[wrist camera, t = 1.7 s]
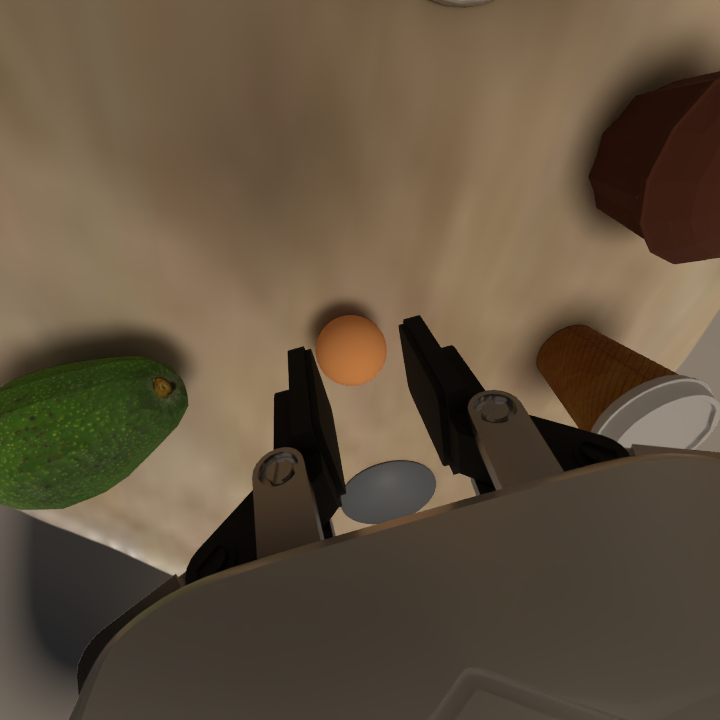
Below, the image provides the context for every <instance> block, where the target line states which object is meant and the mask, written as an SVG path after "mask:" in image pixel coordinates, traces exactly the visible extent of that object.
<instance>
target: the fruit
mask: <svg viewBox="0 0 720 720" xmlns="http://www.w3.org/2000/svg"><path fill="white" fill-rule="evenodd" d="M187 407H188V397H187V392H186V388H185V385H184V383H183V381H182V379H181V378H180V376H178V375H177V374H176V373H175V371H174V370H173V369H172V368H171V367H170V366H167V365H164V364H162V363H159V362H156V361H154V360H151V359H149V358H146V357H142V356H122V357H112V358H102V359H95V360H89V361H82V362H76V363H70V364H65V365H60V366H55V367H50V368H46V369H41V370H37V371H35V372H32V373H29V374H27V375H24V376H21V377H18V378H16V379H13V380H12V381H10V382H9V383H7V384H6V385H4V386H3V387H1V388H0V504H2V505H5V506H9V507H13V508H16V509H20V510H36V509H64V508H66V507H69V506H72V505H74V504H77V503H79V502H82V501H85V500H87V499H90V498H92V497H95V496H97V495H99V494H102V493H104V492H106V491H108V490H109V489H111V488H112V487H113V486H115V485H116V484H118V483H119V482H121V481H122V480H123V479H125V478H126V477H128V476H129V475H130V474H131V473H132V472H133V471H134V470H135V469H136V468H137V467H138V466H139V465H140V464H141V463H142V462H143V461H144V460H145V459H146V458H147V457H148V456H149V455H150V454H151V453H152V452H153V451H154V450H155V449H156V448H157V447H158V446H159V445H160V444H161V443H162V442H163V441H164V440H165V439H166V437H167V436H168V435H169V434H170V433H171V432H172V431H173V430H174V429H175V428H176V427H177V426H178V424H179V422H180V421H181V419H182V417H183V415H184V413H185V411H186V409H187Z"/></svg>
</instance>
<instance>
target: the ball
mask: <svg viewBox="0 0 720 720" xmlns="http://www.w3.org/2000/svg"><path fill="white" fill-rule="evenodd" d="M386 353H387V348H386V342H385V338H384V336H383V334H382V332H381V331H380V329H379V328H378V327H377V326H376V325H375V324H374V323H373V322H372V321H370V320H368V319H367V318H364V317H361V316H357V315H345V316H341V317H338V318H336V319H334V320H332V321H331V322H329V323H328V324H327V325H326V326H325V327H324V328H323V330H322V331H321V333H320V335H319V337H318V339H317V344H316V357H317V361H318V364H319V366H320V368H321V370H322V371H323V372H324V374H325V375H326V376H327V377H328V378H330V379H331V380H333V381H334V382H336V383H339V384H342V385H346V386H356V385H361V384H364V383H366V382H368V381H370V380H371V379H373V378H374V377H375V376H376V375H377V374H378V373H379V372H380V370H381V369H382V367H383V365H384V362H385V359H386Z"/></svg>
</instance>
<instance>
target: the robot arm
mask: <svg viewBox="0 0 720 720" xmlns="http://www.w3.org/2000/svg"><path fill="white" fill-rule="evenodd" d="M432 1H435V2H437V3H440V4H443V5H446V6H457V7H469V6H475V5H481V4H486V3H488V2H490V1H493V0H432ZM403 323H404V324H401V325H399V333H400V339H401V345H402V351H403V357H404V363H405V370H406V376H407V382H408V387H409V390H410V393H411V395H412V398H413V400H414V402H415V404H416V407H417V409H418V411H419V413H420V415H421V418H422V420H423V422H424V424H425V427H426V429H427V431H428V433H429V435H430V438H431V440H432V442H433V444H434V447H435V449H436V451H437V453H438V455H439V458H440V460H441V462H442V464H443V466H447V465H449V466H450V468H451V470H452V472H453V474H454V475H455V474H458V473H461V474H463V475H466V476H468V477H471V482H472V485H473V488H474V490H475V493H476V496H475V497H471V498H468V499H464V500H460V501H457V502H453V503H450V504H446V505H443V506H439V507H436V508H432V509H429V510H425V511H422V512H418V513H415V514H411V515H408V516H404V517H401V518H397V519H394V520H390V521H387V522H383V523H380V524H376V525H373V526H369V527H366V528H363V529H359V530H356V531H352V532H349V533H345V534H342V535H339V536H335V532H334V528H333V524H332V521H331V517H332V516H333V515H334V513H335V512H336V510H337V509H338V507H342V502H341V495H345V494H346V487H345V482H344V476H343V470H342V465H341V459H340V453H339V447H338V442H337V436H336V430H335V425H334V419H333V413H332V409H331V406H330V403H329V400H328V397H327V394H326V391H325V388H324V385H323V382H322V379H321V376H320V374H319V371H318V368H317V365H316V362H315V359H314V356H313V353H312V350H311V349H308V350H305V348H304V346H303V347H300V348H296V349H292V350H289V351H288V372H289V390H286V391H282V392H278V393H275V395H274V450H273V451H271V452H269V453H267V454H266V455H265V456H263V457H262V458H261V459H260V460H259V462H258V463H257V464H256V466H255V468H254V470H253V476H252V482H253V490H252V492H251V493H250V494H249V495H248V496H247V497H246V498H245V499H244V500H243V501H242V502H241V504H240V505H239V506H238V507H237V508H236V509H235V510H234V511H233V512H232V513H231V514H230V516H229V517H228V518H227V519H226V520H225V521H224V522H223V523H222V524H221V525H220V526H219V528H218V529H217V530H216V531H215V532H214V533H213V534H212V535H211V536H210V537H209V538H208V539H207V541H206V542H205V543H204V544H203V545H202V546H201V547H200V548H199V549H198V550H197V552H196V553H195V554H194V556H193V557H192V558H191V560H190V563H189V565H188V567H187V570H186V572H185V573H183V574H182V575H181V576H179V577H178V576H177V575H176V574H175V575H174V576H172V577H171V578H170V579H168V580H167V581H166V582H164V583H163V584H162V585H160V586H159V587H158V588H156V589H155V590H154V591H152V592H151V593H150V594H148V595H147V596H146V597H145V598H143V599H142V600H141V601H139V602H138V603H137V604H135V605H134V606H133V607H131V608H130V609H129V610H127V611H126V612H125V613H123V614H122V615H121V616H120V617H118V618H117V619H116V620H114V621H113V622H112V623H110V624H109V625H108V626H106V627H105V628H104V629H102V630H101V631H100V632H99V633H98V634H97V635H96V636H95V637H94V638H93V639H92V640H91V642H90V643H89V644H88V646H87V647H86V649H85V650H84V652H83V654H82V656H81V659H80V661H79V664H78V670H77V683H78V694H79V697H78V700H77V701H76V704H75V706H74V709H73V711H72V714H71V716H70V718H69V720H720V453H719V452H710V451H700V450H690V449H680V448H669V447H659V446H649V445H639V444H632V445H631V448H625V447H623V446H622V445H621V444H619V443H618V442H616V441H615V440H613V439H611V438H608V437H606V436H603V435H600V434H596V433H592V432H589V431H585V430H582V429H578V428H575V427H571V426H567V425H564V424H560V423H557V422H553V421H549V420H546V419H542V418H539V417H535V416H531V415H528V413H527V411H526V410H525V408H524V406H523V405H522V403H521V402H520V401H519V400H518V399H517V398H516V397H515V396H513V395H512V394H510V393H507V392H504V391H498V390H489V391H485V390H484V388H483V387H482V385H481V384H480V383H479V381H478V380H477V378H476V377H475V375H474V374H473V373H472V371H471V370H470V368H469V367H468V366H467V364H466V363H465V361H464V360H463V358H462V357H461V356H460V354H459V353H458V351H457V350H456V349H455V347H454V346H452V345H450V346H447V347H443V348H441V347H440V345H439V344H438V342H437V341H436V339H435V338H434V336H433V335H432V333H431V332H430V330H429V329H428V327H427V325H426V324H425V322H424V321H423V319H422V318H421V316H420V315H418V316H414V317H411V318H407V319H404V320H403Z"/></svg>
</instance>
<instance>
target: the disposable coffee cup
mask: <svg viewBox="0 0 720 720" xmlns="http://www.w3.org/2000/svg"><path fill="white" fill-rule="evenodd" d="M537 367H538V370H539V371H540V373H541V374H542V375H543V377H544V378H545V380H546V381H547V383H548V384H549V386H550V387H551V388H552V390H553V391H554V393H555V394H556V396H557V397H558V399H559V400H560V402H561V403H562V404H563V406H564V407H565V409H566V410H567V412H568V413H569V415H570V416H571V418H572V419H573V420H574V422H575V423H576V425H577V426H578V428H579V429H582V430H585V431H589V432H592V433H596V434H600V435H603V436H606V437H608V438H611V439H613V440H615V441H616V442H618V443H619V444H621V445H622V446H623V447H625V448H631V445H632V444H639V445H649V446H659V447H669V448H680V449H690V450H694V449H696V448H697V447H698V446H699V445H700V444H701V443H702V442H704V441H705V440H706V438H707V437H708V436H709V435H710V433H711V432H712V431H713V430H714V428H715V427H716V425H717V423H718V421H719V419H720V403H719V402H718V400H717V399H716V398H715V397H714V396H713V395H712V391H711V389H710V387H709V386H708V385H707V384H706V383H705V382H703V381H701V380H698V379H696V378H690V377H687V376H683V375H678V374H677V373H675V372H673V371H671V370H669V369H667V368H665V367H663V366H662V365H660V364H657V363H656V362H654V361H652V360H650V359H649V358H646V357H644V356H643V355H641V354H638V353H637V352H635V351H633V350H631V349H629V348H627V347H625V346H624V345H622V344H619V343H618V342H616V341H614V340H612V339H610V338H608V337H606V336H604V335H602V334H601V333H599V332H597V331H595V330H593V329H591V328H590V327H588V326H583V325H575V326H570V327H568V328H565V329H563V330H561V331H559V332H557V333H556V334H554V335H553V336H552V337H551V338H550V339H549V340H547V342H546V343H545V344H544V345H543V347H542V348H541V350H540V352H539V354H538V358H537Z"/></svg>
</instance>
